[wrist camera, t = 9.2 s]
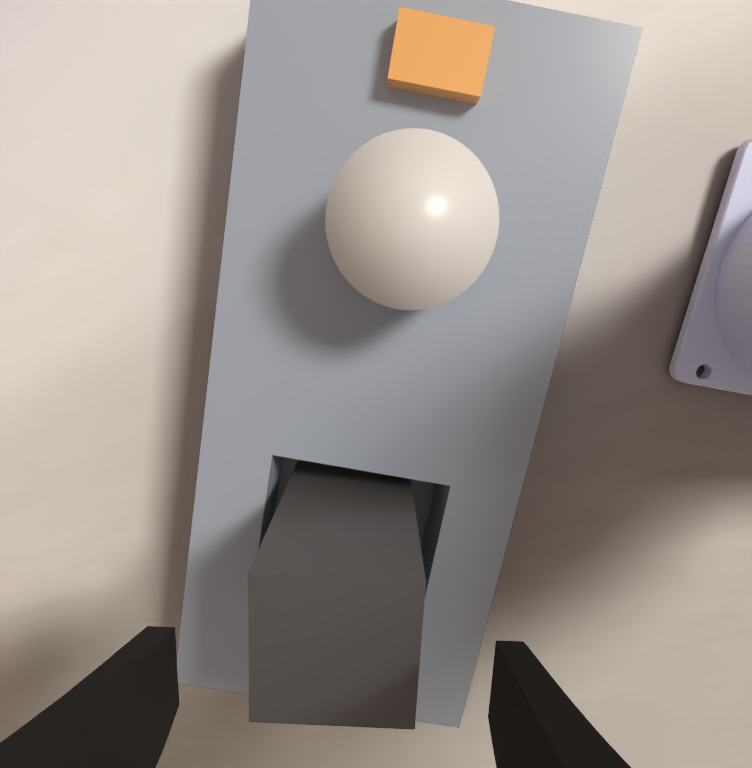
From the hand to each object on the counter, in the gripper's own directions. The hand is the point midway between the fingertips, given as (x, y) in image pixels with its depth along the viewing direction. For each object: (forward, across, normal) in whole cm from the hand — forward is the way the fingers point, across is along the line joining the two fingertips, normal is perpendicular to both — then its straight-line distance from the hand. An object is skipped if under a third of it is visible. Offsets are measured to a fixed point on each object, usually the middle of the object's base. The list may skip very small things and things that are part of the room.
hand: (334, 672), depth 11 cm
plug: (+8, 0, 0) cm, 8 cm away
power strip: (+8, -1, -5) cm, 9 cm away
